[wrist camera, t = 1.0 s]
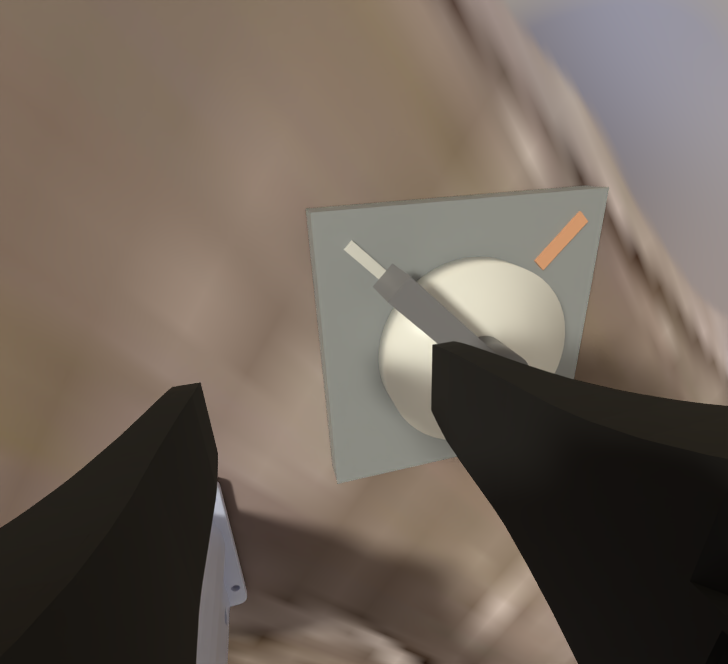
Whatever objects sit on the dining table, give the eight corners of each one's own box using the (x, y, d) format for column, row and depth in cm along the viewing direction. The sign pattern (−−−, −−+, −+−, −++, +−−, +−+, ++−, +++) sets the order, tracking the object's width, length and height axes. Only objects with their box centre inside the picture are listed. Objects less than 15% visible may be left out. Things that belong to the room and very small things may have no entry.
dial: (574, 328, 22) (629, 356, 18) (459, 448, 23) (492, 494, 20) (443, 182, 17) (487, 187, 14) (306, 344, 18) (318, 383, 15)
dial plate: (548, 418, 26) (565, 433, 24) (332, 464, 23) (338, 485, 22) (585, 185, 20) (611, 187, 19) (305, 208, 17) (310, 213, 16)
